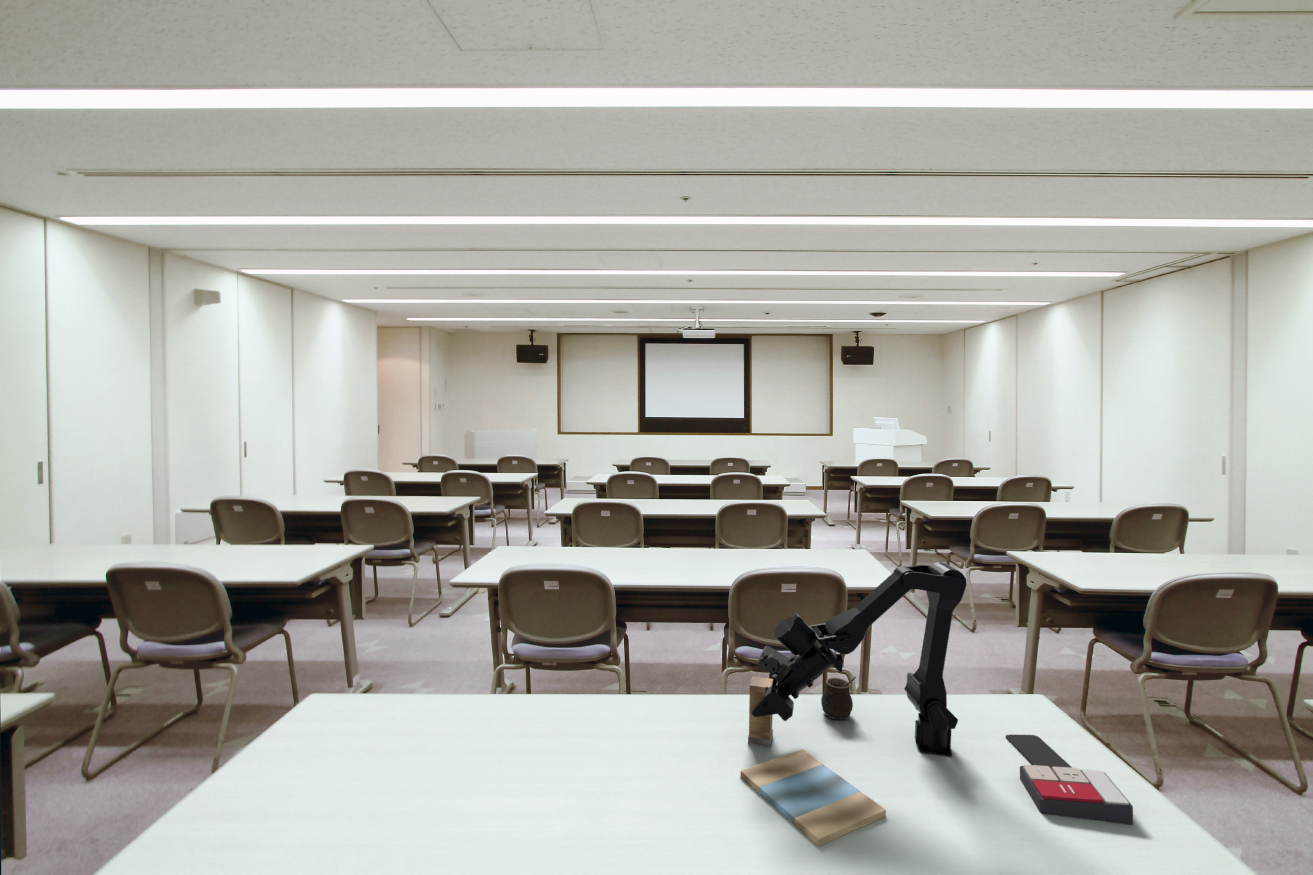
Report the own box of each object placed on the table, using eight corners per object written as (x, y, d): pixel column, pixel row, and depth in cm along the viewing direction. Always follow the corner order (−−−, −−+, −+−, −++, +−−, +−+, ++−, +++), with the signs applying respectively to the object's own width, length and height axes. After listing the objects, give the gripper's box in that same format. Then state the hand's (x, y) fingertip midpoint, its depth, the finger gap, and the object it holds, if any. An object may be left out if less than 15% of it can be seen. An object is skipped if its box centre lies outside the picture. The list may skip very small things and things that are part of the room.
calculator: (1018, 761, 126) (1104, 767, 123) (1019, 782, 127) (1104, 788, 124) (1040, 795, 116) (1134, 802, 113) (1040, 818, 116) (1134, 826, 113)
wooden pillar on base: (772, 735, 141) (773, 678, 140) (770, 747, 137) (771, 688, 136) (751, 732, 143) (752, 675, 142) (747, 743, 138) (748, 685, 137)
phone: (1036, 734, 142) (1080, 774, 127) (1036, 738, 142) (1080, 778, 127) (1003, 734, 142) (1043, 774, 127) (1003, 737, 142) (1042, 778, 127)
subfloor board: (740, 776, 126) (740, 770, 126) (802, 754, 134) (802, 749, 134) (818, 845, 107) (818, 839, 107) (885, 815, 115) (886, 809, 115)
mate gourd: (818, 706, 155) (820, 666, 154) (850, 709, 154) (852, 668, 153) (822, 721, 148) (823, 679, 147) (856, 724, 146) (858, 682, 146)
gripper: (784, 622, 146) (736, 663, 150) (776, 654, 128) (721, 700, 132) (819, 660, 144) (769, 700, 148) (816, 698, 126) (759, 743, 130)
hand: (754, 709), depth 140 cm, fingers closed on wooden pillar on base, 4 cm apart
